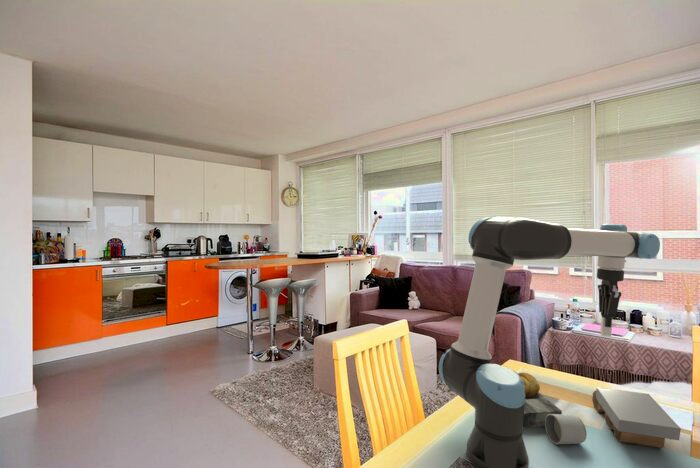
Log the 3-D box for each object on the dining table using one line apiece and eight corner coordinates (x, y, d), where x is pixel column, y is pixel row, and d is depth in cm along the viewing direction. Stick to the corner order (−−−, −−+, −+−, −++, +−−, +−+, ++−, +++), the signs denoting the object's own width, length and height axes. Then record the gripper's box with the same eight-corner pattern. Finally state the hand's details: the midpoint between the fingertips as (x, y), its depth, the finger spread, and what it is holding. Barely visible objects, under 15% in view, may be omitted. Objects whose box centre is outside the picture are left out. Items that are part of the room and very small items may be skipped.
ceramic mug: (588, 449, 99) (589, 422, 98) (560, 450, 98) (562, 423, 98) (561, 426, 109) (563, 402, 109) (536, 427, 109) (537, 403, 108)
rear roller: (630, 418, 116) (637, 413, 112) (595, 413, 119) (601, 407, 115) (625, 399, 120) (632, 393, 116) (591, 394, 123) (596, 388, 118)
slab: (618, 431, 99) (619, 419, 98) (595, 397, 114) (596, 387, 114) (679, 440, 95) (680, 428, 95) (647, 404, 110) (648, 393, 110)
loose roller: (612, 433, 106) (614, 415, 106) (652, 439, 104) (654, 421, 103) (621, 445, 101) (622, 426, 100) (663, 452, 98) (665, 433, 98)
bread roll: (532, 386, 134) (533, 365, 133) (548, 400, 124) (549, 378, 124) (499, 387, 133) (500, 366, 133) (512, 401, 123) (513, 378, 123)
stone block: (501, 412, 117) (502, 396, 116) (543, 410, 118) (544, 395, 118) (516, 428, 108) (517, 412, 108) (561, 427, 109) (562, 410, 109)
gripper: (632, 272, 116) (626, 343, 118) (615, 266, 128) (610, 330, 130) (605, 270, 118) (600, 340, 120) (591, 265, 131) (586, 328, 132)
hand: (605, 335), depth 125 cm, fingers closed
